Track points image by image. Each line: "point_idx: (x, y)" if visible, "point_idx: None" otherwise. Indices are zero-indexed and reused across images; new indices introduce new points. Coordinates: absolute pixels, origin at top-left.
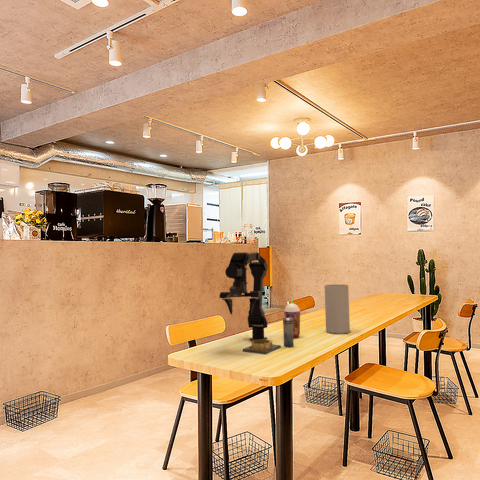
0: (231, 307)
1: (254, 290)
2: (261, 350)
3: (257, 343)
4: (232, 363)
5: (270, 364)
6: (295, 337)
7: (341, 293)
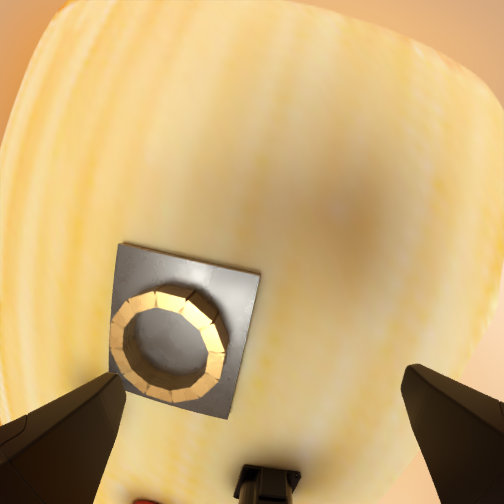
0: (445, 448)
1: None
2: (147, 268)
3: (167, 301)
4: (223, 49)
5: (74, 98)
6: (137, 501)
7: None
